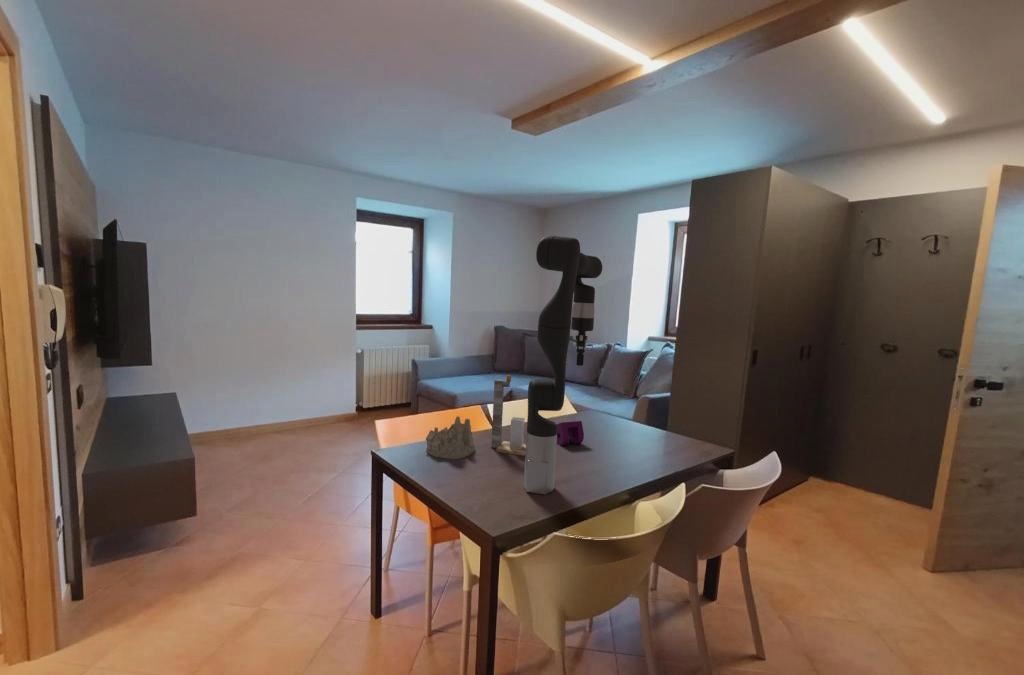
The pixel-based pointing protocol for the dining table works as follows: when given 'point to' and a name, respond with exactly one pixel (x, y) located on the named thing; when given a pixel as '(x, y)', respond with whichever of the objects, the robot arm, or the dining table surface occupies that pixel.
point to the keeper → (497, 419)
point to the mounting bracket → (570, 432)
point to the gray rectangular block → (517, 433)
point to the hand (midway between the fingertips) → (579, 363)
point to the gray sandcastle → (451, 441)
